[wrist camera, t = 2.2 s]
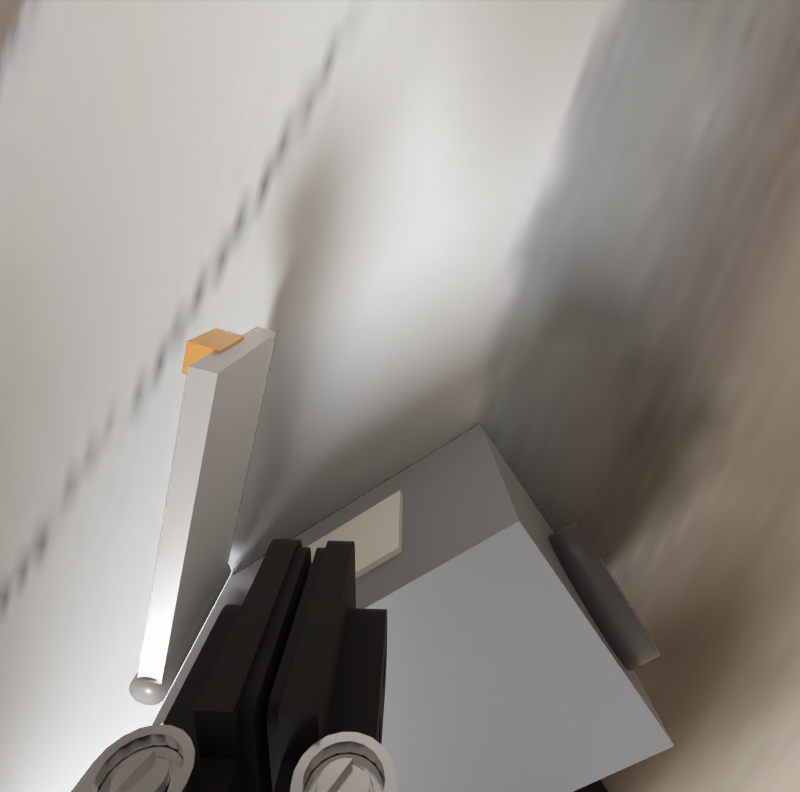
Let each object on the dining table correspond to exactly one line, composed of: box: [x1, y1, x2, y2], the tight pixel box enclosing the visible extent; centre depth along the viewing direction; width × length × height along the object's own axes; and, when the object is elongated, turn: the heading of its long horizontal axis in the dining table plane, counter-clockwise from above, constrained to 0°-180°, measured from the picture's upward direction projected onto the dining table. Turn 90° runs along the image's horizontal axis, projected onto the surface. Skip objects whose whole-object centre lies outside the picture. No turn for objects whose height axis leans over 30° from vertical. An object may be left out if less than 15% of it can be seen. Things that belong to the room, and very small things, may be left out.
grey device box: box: [153, 423, 674, 792], centre depth 20 cm, size 15×10×8 cm
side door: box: [129, 327, 277, 705], centre depth 18 cm, size 12×2×6 cm, turn 164°
